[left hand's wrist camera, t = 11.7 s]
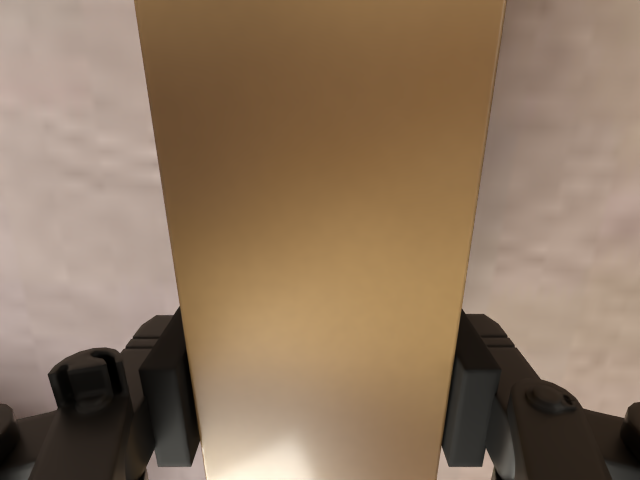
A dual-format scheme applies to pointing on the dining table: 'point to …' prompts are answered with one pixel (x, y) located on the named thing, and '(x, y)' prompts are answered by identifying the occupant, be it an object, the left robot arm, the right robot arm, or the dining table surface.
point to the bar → (320, 221)
